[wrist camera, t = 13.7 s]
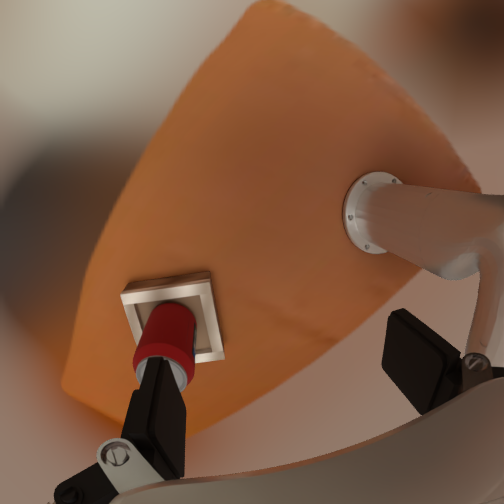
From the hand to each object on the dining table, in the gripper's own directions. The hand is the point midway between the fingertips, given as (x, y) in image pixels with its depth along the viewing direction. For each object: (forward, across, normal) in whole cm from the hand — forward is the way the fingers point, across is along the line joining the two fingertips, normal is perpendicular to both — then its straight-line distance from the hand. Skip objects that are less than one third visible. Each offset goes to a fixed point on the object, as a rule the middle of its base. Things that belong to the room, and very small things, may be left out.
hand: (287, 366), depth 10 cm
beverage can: (+26, +10, +10) cm, 29 cm away
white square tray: (+28, +10, +11) cm, 32 cm away
